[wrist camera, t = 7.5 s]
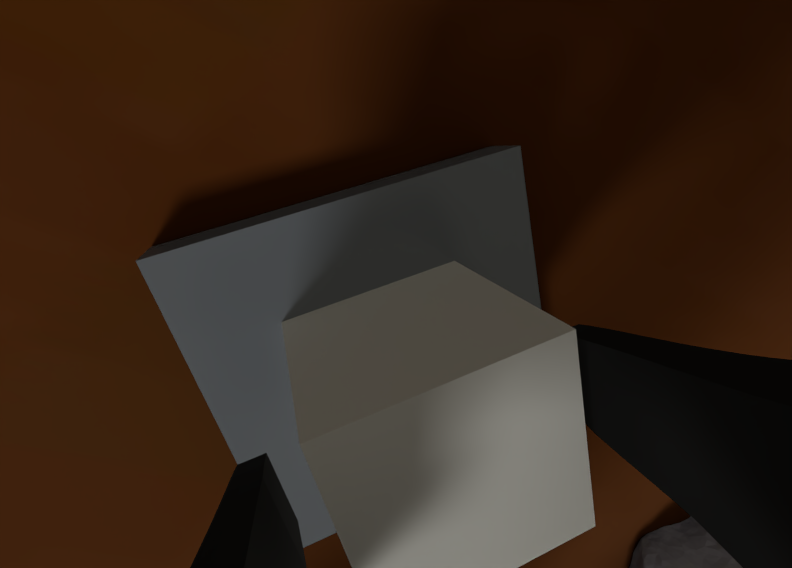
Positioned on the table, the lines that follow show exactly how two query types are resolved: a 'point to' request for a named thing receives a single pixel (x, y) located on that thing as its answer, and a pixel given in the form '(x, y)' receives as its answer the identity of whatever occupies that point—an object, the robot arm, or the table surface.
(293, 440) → the slate tile
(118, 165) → the table surface
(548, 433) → the cube
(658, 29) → the table surface
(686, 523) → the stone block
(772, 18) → the table surface
